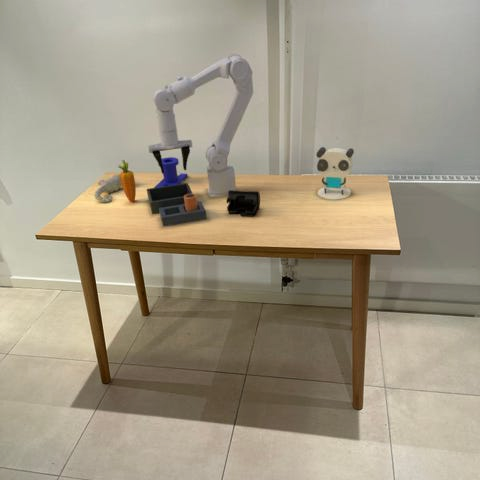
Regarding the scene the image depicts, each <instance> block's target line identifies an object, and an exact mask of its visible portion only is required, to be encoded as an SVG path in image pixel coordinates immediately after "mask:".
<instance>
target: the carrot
mask: <svg viewBox="0 0 480 480" xmlns="http://www.w3.org/2000/svg"><path fill="white" fill-rule="evenodd" d="M121 162H122V164H123V165H117V168H119V169H121V170H122V171H121V172H120V173H119V174H120V180H121V184H122V185H121V187H122V190H123V192H124V195H125V197H126V199H127V200H128V201H129V202H130V203H135V200H136V194H137V192H136V182H135V180H136V179H135V175H134V174H135V173H134V172H133V171H132V170H129V162H127V161H126V160H125V159H122V160H121ZM134 179H135V180H134Z"/></svg>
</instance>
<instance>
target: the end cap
mask: <svg viewBox="0 0 480 480" xmlns="http://www.w3.org/2000/svg"><path fill="white" fill-rule="evenodd" d="M226 204H228V205H227V207H226V209H227V212H228V213H227V214H228V215H234V216H235V215H236V216H237V215H239V216H241V217H246V218H247V217H248V218H249V217H250V218H255V217H256V216H257V214H258V211H259V210H260V207H261V193H260V191H258V190H237V189H236V190H229V191H228V195H227V198H226Z"/></svg>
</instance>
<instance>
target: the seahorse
mask: <svg viewBox="0 0 480 480" xmlns="http://www.w3.org/2000/svg"><path fill="white" fill-rule="evenodd" d="M134 180H136V179H135V178H134ZM97 185H98V186H99V188H97V189H96V190H95V193H94V198H95V200H97V201H98V202H102V203H109V202H111V201H112V200H113V196H112V195H111V193H113V192H118V191H119V190H120V189H121V187H122V184H121V180H120V173H117V174H115V175H113V176H111V177H108V178H107V179H101V180H99V181H98V183H97ZM102 193H103V194H104V193H105V195H104V197H102V196H101V194H102Z"/></svg>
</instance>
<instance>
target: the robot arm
mask: <svg viewBox="0 0 480 480" xmlns="http://www.w3.org/2000/svg"><path fill="white" fill-rule="evenodd" d="M218 78H221V79H228V80H229V79H230V78H231V80H232V82H233V85H234V87H235V90H236V92H235V94H234V96H233V98H232V101H231V103H230V105H229V108H228V111H227V113H226V115H225V117H224V120H223V123H222V124H221V127H220V129H219V131H218V134H217V136H216V137H215V138H214V140H213V141H212V143H211V145H210V146H209V147H207V148H206V150H205V158H206V160H207V161H208V164H207V166H206V173H207V174H206V175H207V182H208V183H207V184H208V188H206V191H207V193H208V195H209V196H210V198H214V197H221V196H229V195H228V191H229V190H236V191H237V183H236V173H235V169H234V166H233V165H228V157H229V155H230V150H231V144H232V142H233V140H234V137H235V135H236V133H237V130H238V128H239V126H240V123H241V122H242V120H243V117H244V115H245V112H246V110H247V108H248V107H249V106H248V105H249V104H250V102H251V100H252V97H253V94H254V85H253V83H254V82H253V70H252V68H251V65H250V63H249V62H248V60H247V59H245V58H243V57H242V55H240V54H236V53H234V54H231V55H229V56H228V57H224V58H222V59H219V60H218V61H216V62H215V63H213V64H212V65H210V66H208V67H207V68H205V69H203V70H202V71H200V72H199V73H196V74H195V75H193V76H192V77H188V76H186V75H184V76H183V77H182V75H180V76H178V77H177V80H176V81H174V82H172V83H170V84H169V85H168V84H165V85H164V86H163V87H164V88H159V89H157V90H156V91H155V93H154V95H153V102H154V104H155V107H156V111H155V112H156V120H157V126H158V131H159V137H160V139H159V140H160V142H159V143H155V144H150V145H148V146H147V148H148V153H149V154H152V155H153V158H154V159H155V160H156V162H157V164H159V165H158V167H159V168H160V171H161V174H162V175H163V173H164V169H163V165H162V159H163V158H162V154H161V152H164V151H171V150H179V149H180V151H181V157H182V167H183V170H184V171H187V164H188V159H189V156H190V153H191V148H193V141H192V140H191V139H186V140H185V139H184V140H179V136H178V135H179V134H178V130H177V128H178V127H177V122H176V115H175V113H174V107H175V106H174V105H178V104H180V103H182V102H183V101H185V100H187V99H189V98H191V97H192V96H194V95H195V92H196V89H198V88H200V87H202V86H204V85H206V84H208V83H210V82H212V81H214V80H216V79H218Z"/></svg>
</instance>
